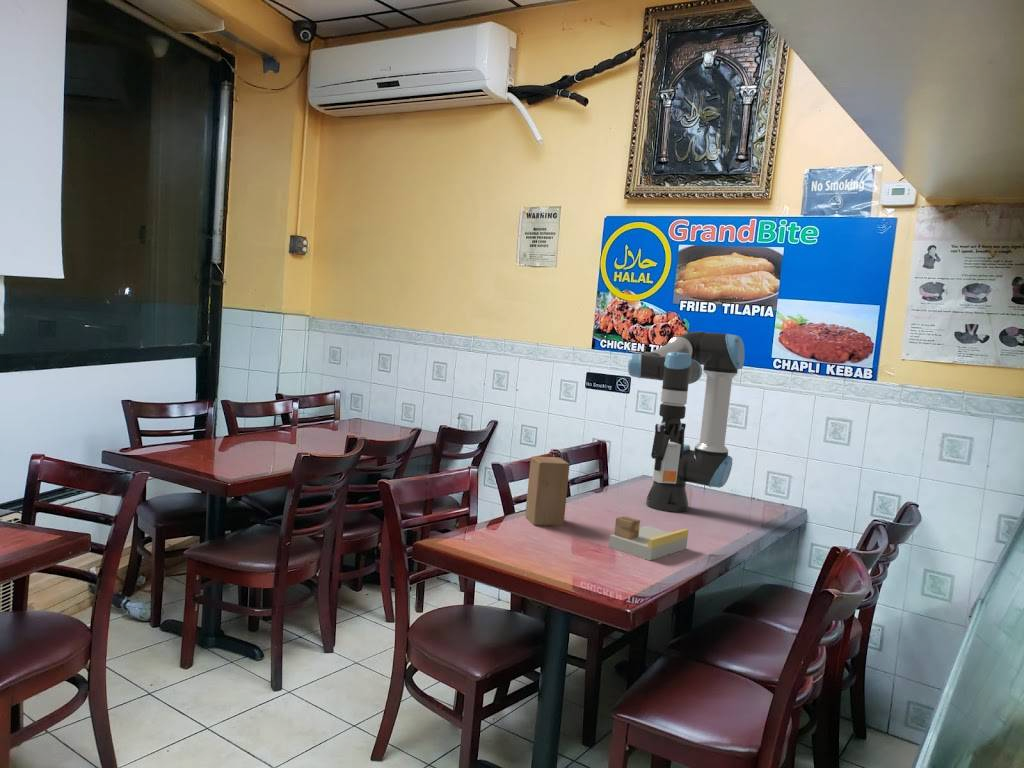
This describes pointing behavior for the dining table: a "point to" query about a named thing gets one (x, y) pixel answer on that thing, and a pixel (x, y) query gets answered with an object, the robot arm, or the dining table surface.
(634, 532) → the tan wooden cube
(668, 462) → the skincare box
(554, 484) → the wooden block
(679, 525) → the dining table surface
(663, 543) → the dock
